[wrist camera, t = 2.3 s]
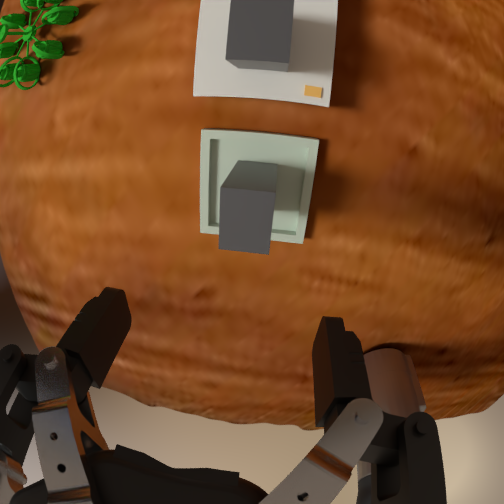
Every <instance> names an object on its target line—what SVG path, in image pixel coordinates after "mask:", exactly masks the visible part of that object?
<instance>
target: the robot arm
mask: <svg viewBox="0 0 504 504" xmlns="http://www.w3.org/2000/svg"><path fill="white" fill-rule="evenodd" d="M130 327H131V314H130V310H129V307H128V303H127V299H126V295H125V292H124V291H123V290H121V289H116V288H111V287H106V288H104V290H103V291H102V292H101V294H100V295H99V297H94V298H93V299H91V300H90V301H88V302H87V303H86V304H85V305H84V307H83V308H82V309H81V311H80V314H78V315H77V316H76V318H75V321H73V322H72V324H71V325H70V326H69V328H68V329H67V331H66V332H65V334H64V335H63V337H62V338H61V340H60V341H59V343H58V344H57V346H56V347H47V348H45V349H43V350H42V351H41V352H40V353H39V354H38V355H31V354H23V352H22V351H21V349H20V348H19V347H18V346H17V345H14V344H10V345H7V346H5V347H3V349H1V350H0V504H330V503H331V502H332V501H333V500H334V498H335V497H336V496H337V495H338V493H339V492H340V491H341V490H342V488H343V487H344V486H345V484H346V483H347V482H348V480H349V478H350V476H351V471H352V470H353V468H354V467H355V465H356V464H357V471H358V496H357V502H356V504H447V501H446V487H445V477H444V468H443V460H442V453H441V447H440V441H439V435H438V430H437V425H436V422H435V420H434V419H433V418H432V417H431V416H430V415H429V414H427V413H425V412H423V411H424V410H425V409H426V404H425V400H424V397H423V393H422V390H421V387H420V383H419V380H418V377H417V374H416V371H415V367H414V364H413V361H412V358H411V355H405V354H404V353H402V352H401V351H400V350H397V349H392V348H385V349H379V350H375V351H372V352H369V353H366V354H365V355H363V351H362V346H361V342H360V340H359V339H358V338H357V336H356V335H355V333H354V332H353V331H345V327H344V322H343V319H342V318H340V317H326V316H323V317H322V319H321V322H320V325H319V328H318V331H317V334H316V337H315V340H314V343H313V349H312V362H313V378H314V398H315V424H316V427H324V436H323V437H322V438H321V439H320V440H319V442H318V443H317V444H316V445H315V446H314V448H313V449H312V450H311V451H310V452H309V453H308V455H307V456H306V457H305V458H304V459H303V460H302V461H301V462H300V463H299V464H298V465H297V467H296V468H295V469H294V470H293V471H292V472H291V473H290V474H289V475H288V476H287V477H286V478H285V479H284V480H283V481H282V482H281V483H280V484H279V485H278V486H277V487H276V488H275V489H274V490H273V491H272V492H271V493H270V494H267V493H266V492H265V491H264V490H263V489H261V488H260V487H259V486H257V485H255V484H253V483H252V482H250V481H247V480H245V479H242V478H239V472H231V471H224V470H217V469H211V468H190V469H187V468H186V469H183V468H182V469H181V468H179V469H178V468H171V467H169V466H167V465H165V464H163V463H161V462H159V461H158V460H156V459H154V458H152V457H150V456H148V455H147V454H145V453H142V452H139V451H136V450H132V449H129V448H126V447H124V446H120V445H118V444H117V445H116V448H115V450H109V448H108V445H107V443H106V441H105V439H104V438H103V437H102V434H101V432H100V430H99V427H98V424H97V420H96V417H95V413H94V410H93V406H92V402H91V398H90V394H89V392H88V390H89V388H90V386H93V387H96V388H99V389H100V388H101V386H102V384H103V381H104V379H105V377H106V375H107V373H108V371H109V369H110V367H111V365H112V363H113V361H114V359H115V357H116V355H117V353H118V351H119V349H120V347H121V345H122V343H123V341H124V339H125V337H126V336H127V334H128V332H129V330H130ZM15 388H16V389H17V390H18V391H19V393H18V395H17V397H16V399H15V401H14V403H13V405H12V407H11V410H10V412H9V414H8V415H7V414H6V406H7V403H8V401H9V399H10V397H11V395H12V393H13V391H14V389H15ZM34 433H35V439H36V445H37V450H38V455H39V459H40V464H41V468H42V472H43V476H44V479H42V480H40V481H38V482H36V483H34V484H32V485H29V486H27V487H25V488H23V485H24V484H26V483H27V477H26V475H25V474H24V473H23V469H22V465H23V462H24V459H25V456H26V453H27V450H28V448H29V445H30V442H31V440H32V437H33V434H34Z"/></svg>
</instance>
